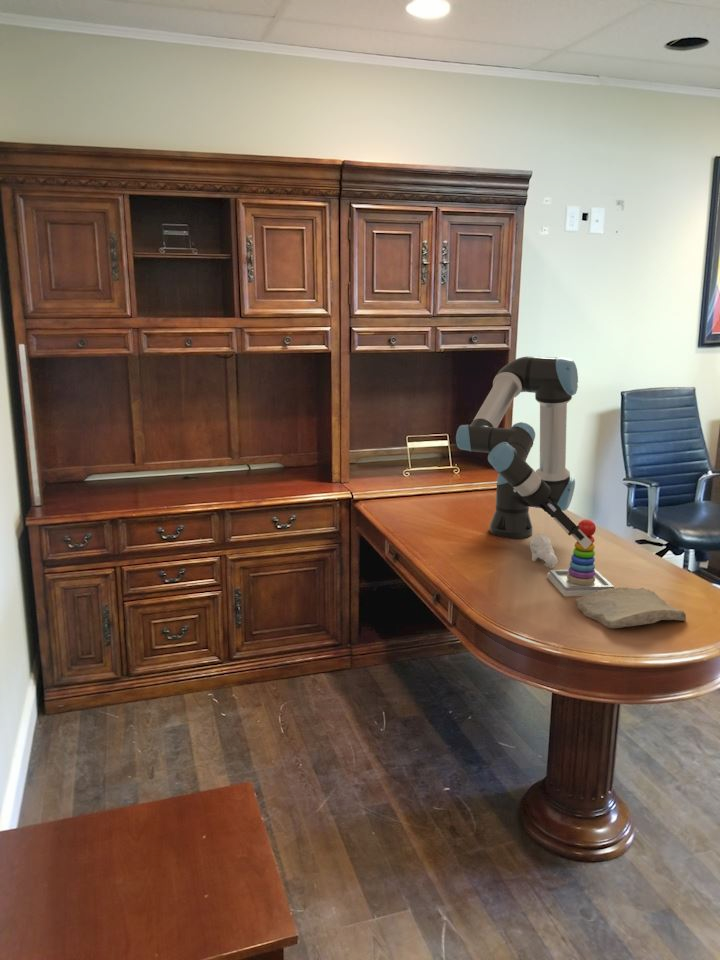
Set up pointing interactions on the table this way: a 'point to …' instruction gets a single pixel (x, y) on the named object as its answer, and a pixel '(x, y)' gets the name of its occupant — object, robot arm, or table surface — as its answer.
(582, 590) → the tray
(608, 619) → the tablet
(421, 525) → the table surface
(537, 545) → the lumpy white figurine
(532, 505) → the robot arm
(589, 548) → the stacking toy
